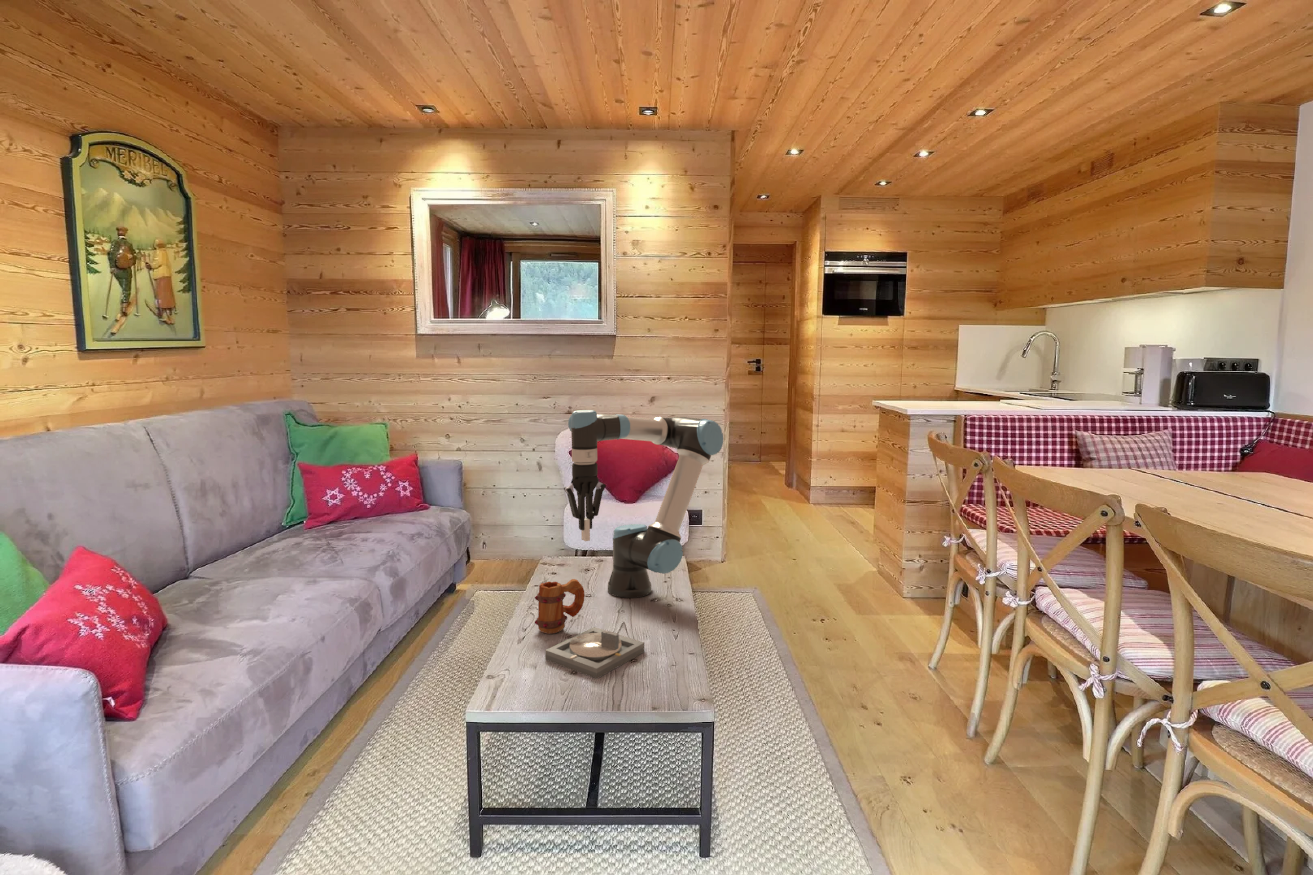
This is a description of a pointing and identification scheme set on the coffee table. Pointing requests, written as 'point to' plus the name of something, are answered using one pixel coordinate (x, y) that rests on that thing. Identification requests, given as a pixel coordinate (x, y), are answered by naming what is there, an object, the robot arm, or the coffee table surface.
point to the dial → (596, 645)
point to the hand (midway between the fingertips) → (585, 539)
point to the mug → (557, 604)
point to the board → (593, 669)
